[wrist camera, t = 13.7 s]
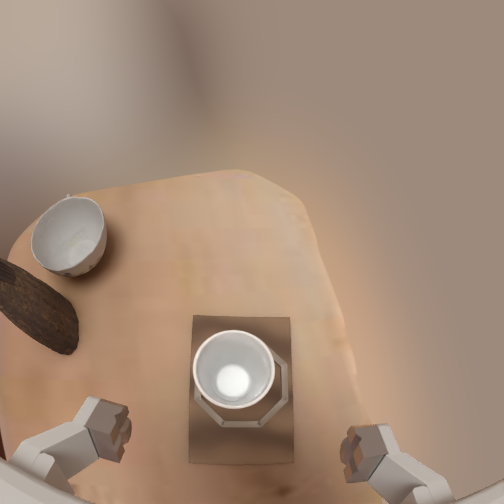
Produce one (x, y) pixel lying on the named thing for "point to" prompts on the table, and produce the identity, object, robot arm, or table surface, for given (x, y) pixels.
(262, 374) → the drinking glass
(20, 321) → the statue
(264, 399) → the walnut board
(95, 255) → the teacup
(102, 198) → the table surface
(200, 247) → the table surface
